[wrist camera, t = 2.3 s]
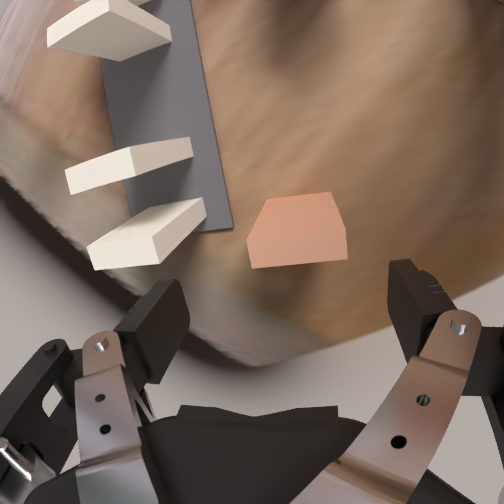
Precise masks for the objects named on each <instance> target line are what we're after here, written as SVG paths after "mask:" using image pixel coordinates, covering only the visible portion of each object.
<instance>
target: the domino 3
mask: <svg viewBox="0 0 504 504" xmlns="http://www.w3.org/2000/svg"><path fill="white" fill-rule="evenodd" d="M206 217H207V215H206V211H205V206H204V202H203V198H197V199H191V200H185V201H180V202H174V203H169V204H164V205H158V206H153V207H149V208H147V209H146V210H144V211H142V212H141V213H139V214H137V215H136V216H134V217H132V218H131V219H129V220H128V221H126V222H124V223H123V224H121V225H120V226H118V227H116V228H115V229H113V230H112V231H110V232H109V233H107V234H106V235H104V236H102V237H101V238H99V239H98V240H96V241H95V242H93V243H92V244H90V245H89V246H87V250H88V252H89V255H90V258H91V261H92V264H93V267H94V269H95V270H102V269H112V268H122V267H132V266H142V265H152V264H160V263H161V262H162V261H163V260H164V259H165V258H166V257H167V256H168V255H169V254H170V253H171V252H172V251H173V250H174V249H175V248H176V247H177V246H178V245H179V244H180V243H181V242H182V241H183V240H184V239H185V238H186V237H187V236H188V235H189V234H190V233H191V232H192V231H193V230H194V229H195V228H196V227H197V226H198V225H199V224H200V223H201V222H202V221H203V220H204V219H205V218H206Z"/></svg>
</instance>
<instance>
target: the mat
mask: <svg viewBox="0 0 504 504" xmlns="http://www.w3.org/2000/svg"><path fill="white" fill-rule="evenodd" d="M138 7H139V8H141V9H143V10H145V11H146V12H148V13H150V14H151V15H153V16H155V17H156V18H158V19H160V20H161V21H163V22H165V23H166V24H168V25H169V26H170V32H171V38H172V42H169V43H166V44H163V45H161V46H158V47H155V48H153V49H150V50H147V51H145V52H142V53H140V54H137V55H135V56H132V57H130V58H128V59H125V60H123V61H121V62H119V61H115V60H110V59H106V58H101V65H102V73H103V80H104V87H105V93H106V100H107V106H108V111H109V117H110V123H111V128H112V133H113V138H114V143H115V148H116V151H117V150H120V149H123V148H126V147H130V146H135V145H141V144H146V143H152V142H158V141H164V140H171V139H178V138H185V137H190V141H191V146H192V151H193V157H190V158H187V159H184V160H181V161H177V162H174V163H171V164H168V165H165V166H162V167H160V168H157V169H154V170H151V171H148V172H145V173H143V174H140V175H137V176H134V177H130V178H126V179H123V183H124V187H125V191H126V195H127V198H128V202H129V206H130V210H131V214H132V217H134V216H136V215H137V214H139V213H141V212H142V211H144V210H146V209H147V208H149V207H153V206H158V205H164V204H169V203H174V202H180V201H185V200H191V199H197V198H203V202H204V206H205V211H206V215H207V217H206V218H205V219H204V220H203V221H202V222H201V223H200V224H199V225H198V226H197V227H196V228H195V229H194V230H193V231H192V232H191V233H193V232H201V231H208V230H216V229H224V228H232V227H234V222H233V217H232V212H231V207H230V202H229V198H228V193H227V188H226V183H225V178H224V173H223V168H222V163H221V158H220V153H219V147H218V142H217V137H216V132H215V127H214V122H213V117H212V112H211V106H210V101H209V96H208V91H207V85H206V80H205V75H204V70H203V64H202V59H201V54H200V48H199V43H198V37H197V32H196V26H195V21H194V15H193V10H192V4H191V0H151V1H148V2H146V3H143V4H141V5H139V6H138Z"/></svg>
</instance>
